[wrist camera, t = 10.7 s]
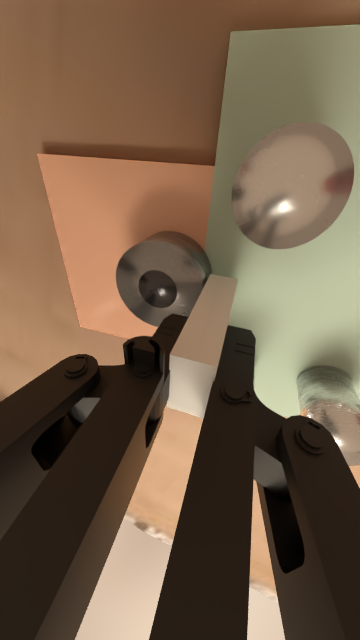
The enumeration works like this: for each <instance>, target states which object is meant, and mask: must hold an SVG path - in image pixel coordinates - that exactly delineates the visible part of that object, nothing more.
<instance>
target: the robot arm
mask: <svg viewBox="0 0 360 640" xmlns="http://www.w3.org/2000/svg"><path fill="white" fill-rule="evenodd" d="M237 283H238V279H235V278H230V277H224V276H219V275H213V274H210V276H209V278H208V280H207V282H206V284H205V286H204V288H203V290H202V292H201V294H200V296H199V298H198V300H197V302H196V304H195V306H194V308H193V310H192V312H191V314H190V316H189V317H186V316H182V315H177V314H173V313H172V314H171V315H169V316H167V317H166V318H164V319H163V321H162V322H161V324H160V325H159V327H158V328H157V330H156V332H155V333H154V334H153V336H152V337H151V336H137V337H134V338H131V339H129V340H127V341H126V342H125V343H124V344H123V350H124V359H125V364H124V365H117V366H98V362H97V360H96V359H95V358H94V357H93V356H90V355H87V354H78V355H73V356H70V357H68V358H66V359H64V360H62V361H60V362H59V363H58V364H56V365H55V366H53V367H52V368H50V369H49V370H47V371H46V372H44V373H43V374H41V375H40V376H38V377H37V378H35V379H34V380H32V381H31V382H29V383H28V384H26V385H25V386H23V387H22V388H20V389H19V390H18V391H16V392H15V393H13V394H12V395H10V396H9V397H7V398H6V399H4V400H3V401H1V402H0V640H75V637H76V635H77V632H78V630H79V627H80V625H81V622H82V620H83V617H84V615H85V612H86V610H87V607H88V605H89V602H90V600H91V597H92V595H93V592H94V590H95V587H96V585H97V582H98V580H99V577H100V575H101V572H102V570H103V567H104V565H105V563H106V560H107V558H108V555H109V553H110V550H111V547H112V545H113V542H114V540H115V538H116V535H117V533H118V530H119V528H120V525H121V523H122V520H123V518H124V515H125V513H126V510H127V508H128V505H129V503H130V500H131V498H132V495H133V493H134V490H135V488H136V485H137V483H138V480H139V478H140V475H141V473H142V470H143V468H144V465H145V463H146V460H147V458H148V455H149V453H150V450H151V448H152V445H153V443H154V440H155V438H156V435H157V433H158V430H159V428H160V425H161V423H162V419H163V410H164V408H165V405H166V403H167V401H168V405H167V407H168V408H172V409H175V410H178V411H181V412H184V413H187V414H191V415H194V416H197V417H200V418H203V423H202V427H201V431H200V435H199V439H198V443H197V447H196V451H195V455H194V459H193V463H192V467H191V471H190V475H189V479H188V484H187V488H186V492H185V496H184V500H183V504H182V508H181V512H180V516H179V520H178V524H177V528H176V532H175V536H174V540H173V544H172V549H171V552H170V557H169V561H168V565H167V569H166V573H165V577H164V581H163V585H162V589H161V593H160V597H159V601H158V605H157V609H156V614H155V617H154V622H153V626H152V630H151V634H150V638H149V640H247V625H248V601H249V575H250V550H251V525H252V500H253V479H254V480H256V482H257V487H258V493H259V498H260V504H261V509H262V515H263V520H264V525H265V531H266V536H267V542H268V547H269V553H270V558H271V564H272V569H273V575H274V580H275V585H276V591H277V596H278V602H279V607H280V612H281V618H282V624H283V629H284V635H285V640H360V488H359V486H358V484H357V482H356V480H355V478H354V476H353V474H352V472H351V470H350V468H349V466H348V464H347V462H346V460H345V458H344V456H343V454H342V452H341V450H340V448H339V446H338V444H337V442H336V440H335V439H334V438H333V436H332V435H331V433H330V432H329V431H328V430H327V429H326V428H325V427H324V426H323V425H322V424H320V423H319V422H317V421H315V420H313V419H312V418H309V417H305V416H302V415H296V416H290V417H289V418H287V419H286V418H284V417H282V416H281V415H279V414H277V413H275V412H274V411H272V410H271V409H269V408H268V407H266V406H265V405H264V404H263V403H262V402H261V401H260V400H259V398H258V397H257V395H256V393H255V391H254V385H253V382H254V363H255V345H256V338H255V336H254V334H253V333H252V331H251V330H248V329H244V328H239V327H235V326H230V325H228V323H229V318H230V314H231V310H232V305H233V301H234V296H235V292H236V287H237Z"/></svg>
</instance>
